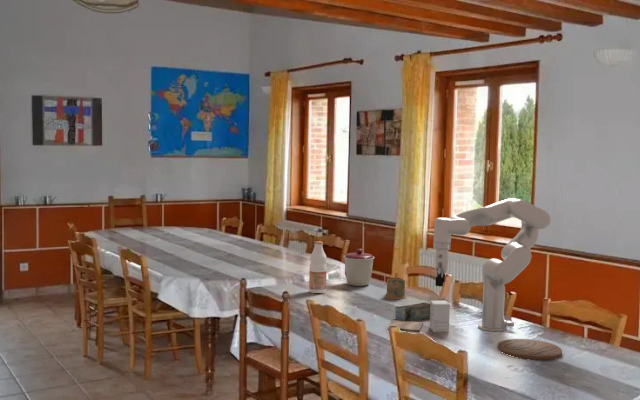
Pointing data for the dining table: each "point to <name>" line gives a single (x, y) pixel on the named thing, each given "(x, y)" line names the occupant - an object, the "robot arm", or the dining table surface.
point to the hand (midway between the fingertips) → (440, 284)
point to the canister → (358, 268)
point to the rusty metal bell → (395, 288)
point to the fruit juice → (317, 269)
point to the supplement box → (439, 316)
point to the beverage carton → (413, 312)
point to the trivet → (530, 349)
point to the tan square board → (407, 325)
